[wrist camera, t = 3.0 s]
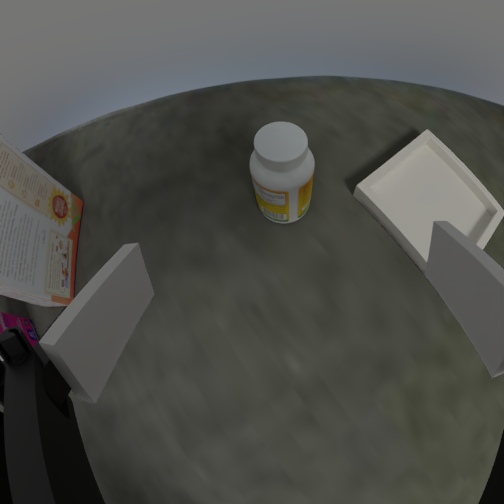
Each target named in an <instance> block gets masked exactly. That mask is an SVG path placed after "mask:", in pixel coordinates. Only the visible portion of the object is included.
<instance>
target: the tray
mask: <svg viewBox="0 0 504 504" xmlns="http://www.w3.org/2000/svg"><path fill="white" fill-rule="evenodd" d="M353 196H354V197H355V198H356V199H357V200H358V201H359V202H360V203H361V204H362V205H363V206H364V207H365V208H366V209H367V210H368V211H369V212H370V213H371V214H372V215H373V217H374V218H375V219H376V220H377V221H378V222H379V223H380V224H381V225H382V226H383V227H384V228H385V230H386V231H387V232H388V233H389V234H390V235H391V236H392V237H393V238H394V240H395V241H396V242H397V243H398V244H399V245H400V246H401V248H402V249H403V250H404V251H405V252H406V253H407V255H408V256H409V257H410V258H411V259H412V261H413V262H414V263H415V264H416V265H417V267H418V268H419V269H420V270H421V272H422V273H423V274H424V275H425V271H426V266H427V260H428V255H429V249H430V243H431V236H432V229H433V221H448V222H449V223H450V224H452V225H453V226H454V227H455V228H457V229H458V230H459V231H460V232H462V233H463V234H464V235H465V236H467V237H468V238H469V239H470V240H471V241H473V242H474V243H475V244H476V245H477V246H478V247H480V248H481V249H482V250H483V248H484V247H485V245H486V244H487V242H488V241H489V239H490V238H491V236H492V234H493V233H494V231H495V229H496V228H497V226H498V224H499V223H500V221H501V219H502V218H503V216H504V210H503V209H502V208H501V206H500V205H499V204H498V203H497V201H496V200H495V199H494V198H493V196H492V195H491V194H490V193H489V192H488V190H487V189H486V188H485V187H484V186H483V184H482V183H481V182H480V181H479V180H478V179H477V178H476V177H475V175H474V174H473V173H472V172H471V171H470V170H469V169H468V168H467V167H466V166H465V165H464V164H463V163H462V162H461V161H460V159H459V158H458V157H457V156H456V155H455V154H454V153H453V152H452V151H451V150H449V149H448V148H447V147H446V146H445V145H444V144H443V143H442V142H441V141H440V140H439V139H438V138H437V137H436V136H435V135H433V134H432V133H431V132H430V131H429V130H428V129H427V130H426V131H424V132H423V133H422V134H421V135H419V136H418V137H417V138H416V139H414V140H413V141H412V142H411V143H409V144H408V145H407V146H406V147H404V148H403V149H402V150H401V151H399V152H398V153H397V154H396V155H394V156H393V157H392V158H391V159H389V160H388V161H387V162H386V163H384V164H383V165H382V166H381V167H379V168H378V169H377V170H375V171H374V172H373V173H372V174H370V175H369V176H368V177H367V178H365V179H364V180H363V181H362V182H360V183H359V184H358V185H356V188H355V191H354V194H353ZM425 277H426V276H425ZM426 278H427V277H426ZM429 282H430V281H429Z"/></svg>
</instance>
